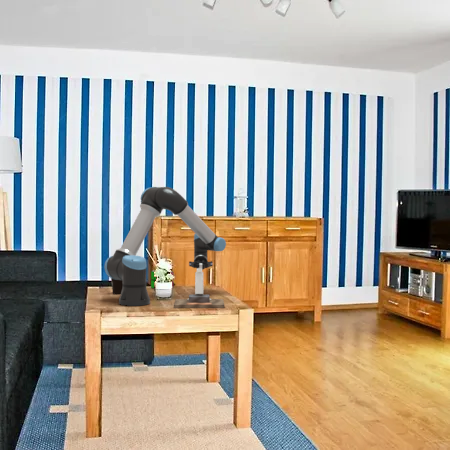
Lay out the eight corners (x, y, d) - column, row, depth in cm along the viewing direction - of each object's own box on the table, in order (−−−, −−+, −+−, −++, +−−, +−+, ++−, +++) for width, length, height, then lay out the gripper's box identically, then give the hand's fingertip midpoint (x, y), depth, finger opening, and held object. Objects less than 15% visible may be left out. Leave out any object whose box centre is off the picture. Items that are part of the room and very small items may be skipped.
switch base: (173, 308, 299) (173, 298, 299) (175, 302, 317) (175, 293, 317) (224, 308, 300) (224, 298, 300) (223, 302, 318) (223, 293, 318)
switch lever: (195, 293, 307) (195, 268, 312) (195, 294, 310) (195, 269, 314) (203, 293, 307) (203, 268, 312) (203, 294, 310) (203, 269, 314)
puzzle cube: (173, 288, 366) (173, 271, 365) (157, 290, 361) (157, 272, 360) (166, 286, 374) (166, 270, 374) (150, 287, 369) (150, 270, 369)
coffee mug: (123, 294, 340) (123, 276, 340) (108, 294, 342) (108, 276, 342) (130, 291, 352) (130, 274, 351) (116, 291, 353) (116, 273, 353)
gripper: (212, 269, 347) (213, 274, 323) (188, 269, 346) (188, 274, 322) (212, 255, 346) (213, 259, 323) (188, 255, 346) (188, 259, 322)
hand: (200, 267), depth 323 cm, fingers closed
